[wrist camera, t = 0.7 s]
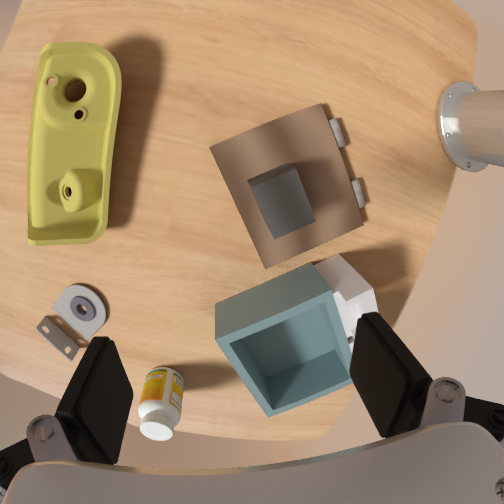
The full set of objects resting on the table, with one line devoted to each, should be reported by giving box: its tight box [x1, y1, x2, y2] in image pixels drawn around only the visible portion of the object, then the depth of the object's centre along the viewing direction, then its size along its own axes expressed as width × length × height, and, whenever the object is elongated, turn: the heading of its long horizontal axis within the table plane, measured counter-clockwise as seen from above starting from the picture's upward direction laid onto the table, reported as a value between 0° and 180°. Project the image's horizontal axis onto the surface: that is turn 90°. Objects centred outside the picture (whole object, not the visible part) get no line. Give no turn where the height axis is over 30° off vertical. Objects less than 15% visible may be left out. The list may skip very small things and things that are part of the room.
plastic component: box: [27, 42, 122, 246], centre depth 25 cm, size 20×7×10 cm
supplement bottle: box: [138, 367, 184, 441], centre depth 33 cm, size 5×5×10 cm
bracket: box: [36, 284, 106, 361], centre depth 32 cm, size 7×10×4 cm, turn 131°
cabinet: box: [215, 254, 379, 417], centre depth 32 cm, size 15×14×9 cm
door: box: [209, 103, 366, 269], centre depth 28 cm, size 13×14×6 cm
